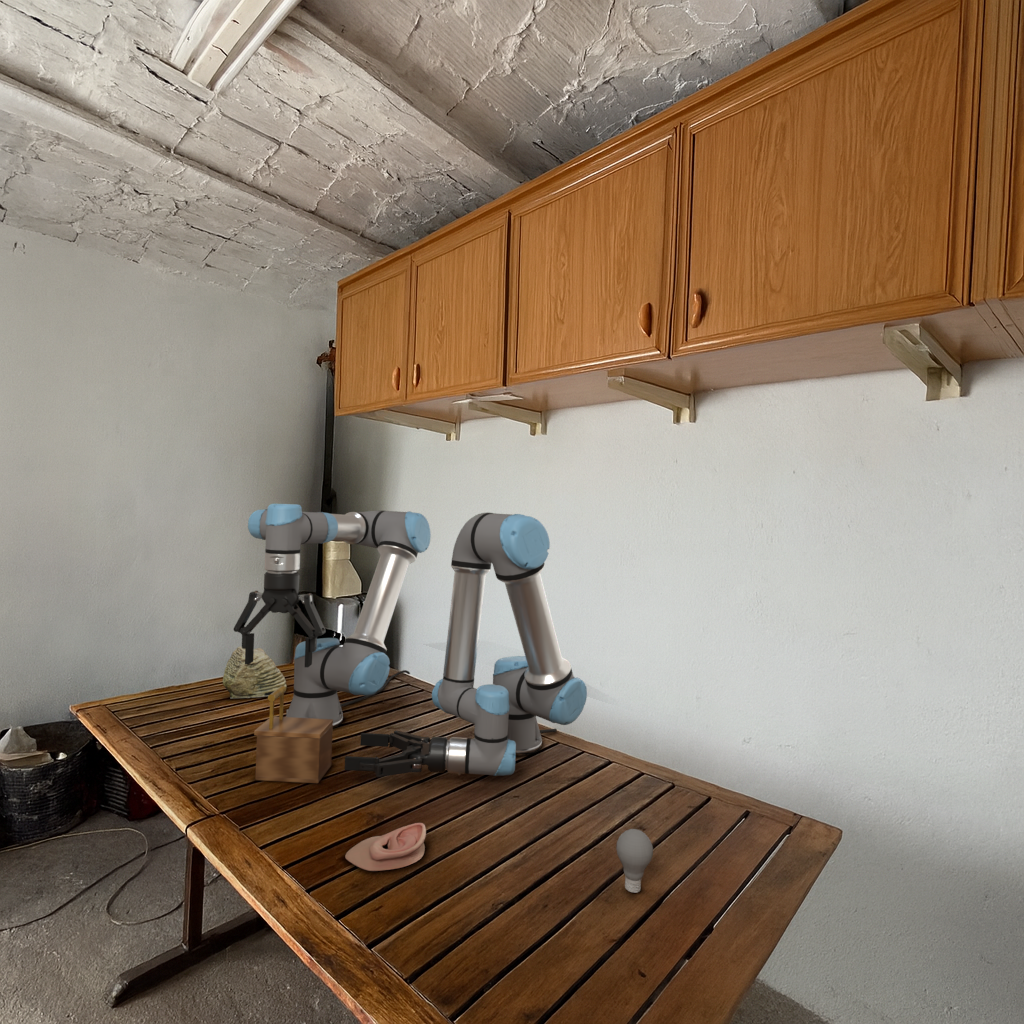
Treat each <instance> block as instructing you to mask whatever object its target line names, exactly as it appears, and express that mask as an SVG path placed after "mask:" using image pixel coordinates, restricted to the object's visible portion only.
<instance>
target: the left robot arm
mask: <svg viewBox="0 0 1024 1024" xmlns="http://www.w3.org/2000/svg"><path fill="white" fill-rule="evenodd" d="M247 521H248V522H247V530H248V533H249V534H250V535H251V536H252V537H253V538H255V539H259V540H263V541H265V551H264V570H265V571H266V572H265V573H264V574H263V592H261V591H260V592H259V590H254V591H251V592H249V594H248V599H247V602H246V604H245V607H244V608H243V609H242V611H241V614H240V615H239V617H238V619H237V621H236V623H235V625H234V627H233V631H234V632H235V633H239V634H241V647H242V649H245V664H250V663H252V662H253V656H254V649H255V632H253V630H254V629H255V628H256V627H257V626H258V625H259V623H261V621H262V620H263V619H264V618H265V617H266V616H267V615H268V614H269V613H270V612H271V613H273V614H276V613H280V614H288V613H289V615H291V616H292V617H293V618H294V619H295V621H296V622H297V624H298V625H299V626H300V627H301V629H303V631H304V632H305V634H306V635H307V636H308V637H305V640H304V641H302V642H299V643H298V644H297V645H296V647H295V652H294V653H295V654H294V657H293V659H294V660H293V662H294V663H293V665H294V667H293V695H292V696H293V697H292V699H291V702H290V704H289V708H288V709H286V712H285V713H286V714H285V717H293V718H313V719H333V729H335V728H337V727H339V726H340V725H342V723H343V722H344V714H343V709H342V707H346V706H350V705H352V704H355V703H358V702H361V701H363V700H366V699H368V698H370V697H373V696H375V695H377V694H379V693H381V692H382V691H384V689H385V688H386V686H387V685H388V684H389V682H390V681H391V680H392V679H393V678H395V677H398V676H399V675H401V674H407V675H411V672H410V671H409V670H405V669H403V670H400V671H398V672H396V673H394V674H392V675H390V676H389V674H390V670H391V666H390V664H391V662H390V658H389V656H388V655H387V650H388V649H387V647H386V645H385V639H386V636H387V633H388V630H389V627H390V624H391V621H392V619H393V614H394V611H395V608H396V605H397V602H398V600H399V597H400V593H401V590H402V587H403V584H404V580H405V577H406V575H407V572H408V569H409V565H410V564H413V563H415V562H416V561H417V557H418V554H422V553H425V552H426V551H427V550H428V549H429V546H430V543H431V538H432V537H431V536H432V535H431V528H430V523H429V521H428V519H427V518H426V516H424V515H423V514H422V513H420V512H412V511H409V510H408V511H397V510H396V511H394V510H381V509H380V510H379V509H378V510H367V511H349V512H347V513H345V514H340V513H329V512H323V511H316V512H315V511H314V512H312V511H303V508H302V505H300V504H295V503H270V504H269V505H268V506H267V508H266V509H265V508H264V509H256V510H255V511H254V510H253V512H252V513H251V514H250V515H249V517H248V520H247ZM332 541H333V542H334V541H335V542H336V541H338V542H342V541H343V542H344V543H345V544H349V545H357V546H358V545H359V546H364V547H368V548H373V549H377V552H378V553H379V555H380V556H379V559H378V562H377V564H376V567H375V571H374V573H373V576H372V579H371V581H370V585H369V588H368V591H367V594H366V596H365V599H364V602H363V605H362V607H361V611H360V613H359V615H358V619H357V622H356V625H355V628H354V631H353V633H352V634H350V635H348V636H347V637H345V640H344V643H343V645H342V646H341V645H340V644H341V643H340V640H339V638H336V637H322V638H318V637H321V636H322V635H324V634H326V632H327V631H326V628H325V626H324V624H323V621H322V619H321V617H320V615H319V612H318V610H317V608H316V606H315V603H314V595H313V594H312V593H311V592H309V593H307V594H301V593H300V591H299V590H300V573H299V572H298V571H299V570H300V569H301V545H312V544H324V543H329V542H332ZM260 600H262V602H263V603H264V605H263V606H262V607H261V608H260V609H259V611H258V612H257V613H256V614H255V616H254V617H253V618H252V619H251V620H250V621H249V622H248V620H249V619H250V617H251V615H252V613H253V611H254V609H255V608H256V606H257V604H258V602H259V601H260ZM300 601H301V603H302V604H303V605H304V608H305V610H306V613H307V615H308V617H309V619H310V620H309V619H308V617H306V615H305V614H304V613H303V611H302V609H301V608H300V606H299V605H298V603H299V602H300ZM310 621H311V622H310ZM338 692H343V693H348V694H352V695H353V696H361V697H359V698H356V699H353V700H350V701H347V702H343V703H341V702H340V699H339V695H338Z"/></svg>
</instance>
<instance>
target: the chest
mask: <svg viewBox="0 0 1024 1024" xmlns="http://www.w3.org/2000/svg"><path fill="white" fill-rule="evenodd" d="M333 730H334V728H333V724H332V725H331V726H330V727H329V729H328V730H327V731H326V732H325V733H324V734H323V735H322V737H321V738H320V739H318V738H298V737H278V736H259V735H256V747H255V748H256V749H255V750H256V751H255V781H266V782H267V781H268V782H282V783H283V782H284V783H285V782H287V783H302V784H303V783H305V784H319V783H320V782H321V780H322V779H323V778H324V776H325V775H326V773H327V772H328V771H329V769H330V768H331V767H332V759H333V757H332V755H333V754H332V753H333Z"/></svg>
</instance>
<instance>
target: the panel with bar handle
mask: <svg viewBox="0 0 1024 1024" xmlns="http://www.w3.org/2000/svg"><path fill="white" fill-rule="evenodd" d="M286 691H287V687H285V686H281V687H279V688H278V689H277V690H275V691H274V692H273V693H272V694H270V695H269V696H267V700H268V702H269V718H268V719H266V720H265V721H264V722H263V723H262V724H260V725H259V726H258V727H257V728H256V729H255V730H253V735H254V736H257V735H259V736H278V737H298V738H318V739H320V738H321V737H322V735H323V734H324V733H325V732H326V731H327V730H328V729H329V727H330V726H331V725H332V724H333V719H313V718H293V717H286V716H284V701H285V700H284V699H285V693H286ZM277 699H279V708H278V709H279V711H278V713H279V714H278V715H279V716H275V715H274V714H275V701H276V700H277Z"/></svg>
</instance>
